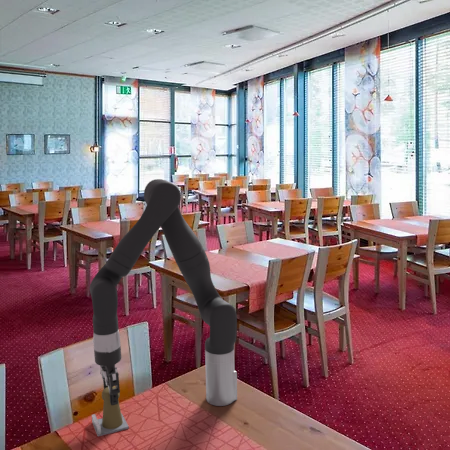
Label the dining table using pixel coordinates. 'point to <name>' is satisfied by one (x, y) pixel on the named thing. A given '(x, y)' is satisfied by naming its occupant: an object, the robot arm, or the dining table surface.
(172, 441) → the dining table surface
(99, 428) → the rail
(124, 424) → the slate shelf board
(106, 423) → the cork
